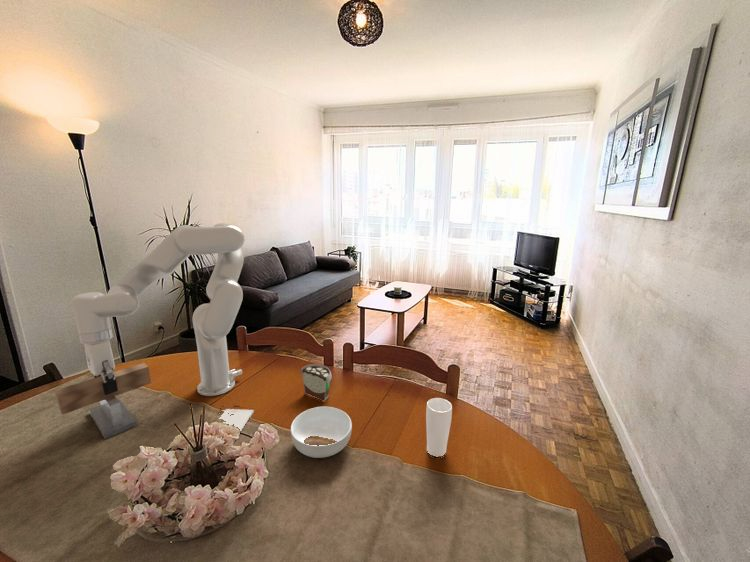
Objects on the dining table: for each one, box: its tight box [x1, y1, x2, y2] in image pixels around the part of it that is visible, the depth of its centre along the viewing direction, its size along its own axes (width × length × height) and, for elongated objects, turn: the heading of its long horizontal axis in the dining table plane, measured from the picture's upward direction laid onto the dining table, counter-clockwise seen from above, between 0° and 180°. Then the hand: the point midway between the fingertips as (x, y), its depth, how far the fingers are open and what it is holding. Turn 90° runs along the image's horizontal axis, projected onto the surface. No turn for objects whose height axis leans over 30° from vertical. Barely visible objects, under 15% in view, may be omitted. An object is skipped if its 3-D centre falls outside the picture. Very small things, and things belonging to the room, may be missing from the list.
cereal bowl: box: [290, 406, 353, 459], centre depth 97 cm, size 17×17×7 cm
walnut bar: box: [54, 362, 152, 415], centre depth 104 cm, size 22×4×6 cm, turn 140°
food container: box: [300, 364, 333, 402], centre depth 121 cm, size 12×6×10 cm, turn 58°
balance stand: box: [88, 396, 138, 440], centre depth 106 cm, size 8×18×8 cm, turn 50°
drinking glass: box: [425, 397, 453, 457], centre depth 94 cm, size 7×7×15 cm
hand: (106, 386), depth 104 cm, fingers open, 9 cm apart
